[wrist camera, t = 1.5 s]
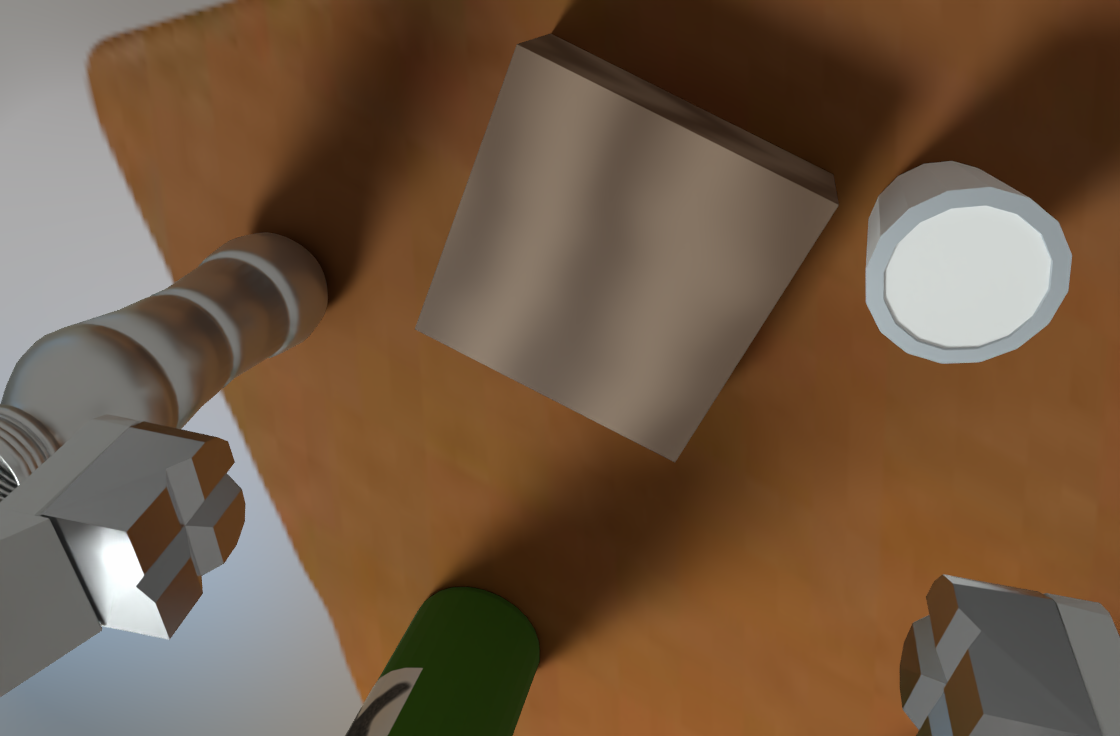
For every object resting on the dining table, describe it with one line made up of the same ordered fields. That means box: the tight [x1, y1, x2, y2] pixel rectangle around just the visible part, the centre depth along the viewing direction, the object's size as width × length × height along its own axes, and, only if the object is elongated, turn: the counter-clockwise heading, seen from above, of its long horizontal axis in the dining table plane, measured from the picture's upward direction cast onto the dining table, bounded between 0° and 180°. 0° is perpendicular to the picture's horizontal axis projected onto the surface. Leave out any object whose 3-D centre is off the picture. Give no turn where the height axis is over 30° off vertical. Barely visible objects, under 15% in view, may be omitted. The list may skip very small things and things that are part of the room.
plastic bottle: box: [0, 232, 328, 502], centre depth 36 cm, size 6×7×20 cm
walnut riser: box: [415, 34, 839, 462], centre depth 37 cm, size 14×14×5 cm
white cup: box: [866, 161, 1072, 363], centre depth 32 cm, size 7×7×7 cm
